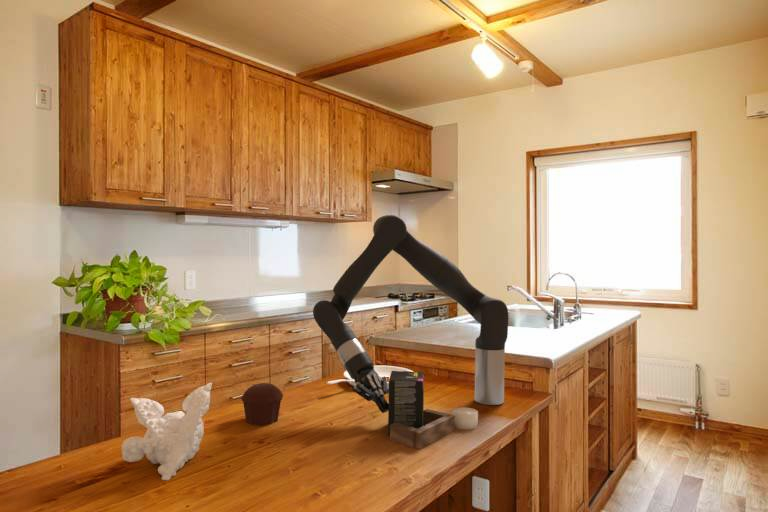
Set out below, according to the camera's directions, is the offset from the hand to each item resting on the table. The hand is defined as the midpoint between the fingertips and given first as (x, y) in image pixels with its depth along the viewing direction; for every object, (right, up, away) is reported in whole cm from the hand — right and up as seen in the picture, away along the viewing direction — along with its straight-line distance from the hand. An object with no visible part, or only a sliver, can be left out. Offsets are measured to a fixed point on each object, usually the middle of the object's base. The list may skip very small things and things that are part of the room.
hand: (386, 410), depth 142 cm
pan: (-6, -4, +43) cm, 43 cm away
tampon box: (+5, -5, -2) cm, 7 cm away
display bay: (+9, -4, -6) cm, 12 cm away
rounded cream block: (+22, -5, +2) cm, 22 cm away
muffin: (-35, -4, +4) cm, 35 cm away
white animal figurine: (-49, -4, -26) cm, 55 cm away
